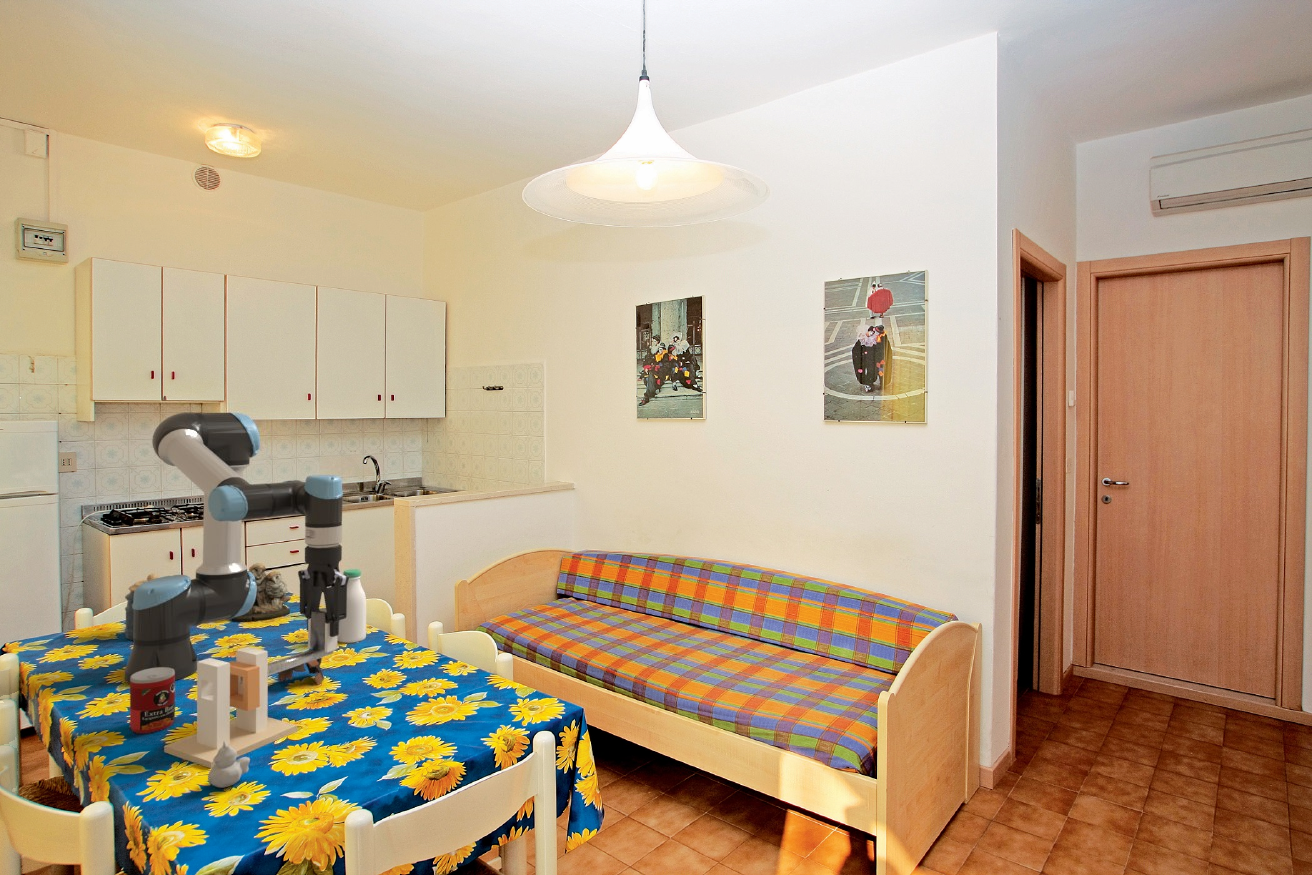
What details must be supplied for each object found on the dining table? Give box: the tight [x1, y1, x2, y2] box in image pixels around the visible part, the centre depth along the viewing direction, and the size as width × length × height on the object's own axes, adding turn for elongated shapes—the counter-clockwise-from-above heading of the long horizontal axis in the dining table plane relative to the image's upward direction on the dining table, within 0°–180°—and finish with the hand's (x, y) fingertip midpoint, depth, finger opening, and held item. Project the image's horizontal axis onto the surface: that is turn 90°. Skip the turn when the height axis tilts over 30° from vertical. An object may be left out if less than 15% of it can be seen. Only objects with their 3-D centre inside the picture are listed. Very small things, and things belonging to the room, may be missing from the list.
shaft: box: [241, 607, 335, 681], centre depth 157 cm, size 21×5×10 cm, turn 155°
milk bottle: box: [337, 568, 367, 644], centre depth 211 cm, size 8×8×20 cm
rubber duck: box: [207, 742, 251, 789], centre depth 129 cm, size 5×7×8 cm
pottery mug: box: [277, 651, 325, 686], centre depth 179 cm, size 12×10×8 cm
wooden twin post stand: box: [163, 646, 298, 770], centre depth 145 cm, size 14×18×17 cm
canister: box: [124, 573, 159, 641], centre depth 212 cm, size 13×13×18 cm
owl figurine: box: [230, 562, 292, 623], centre depth 233 cm, size 18×12×17 cm, turn 131°
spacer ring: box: [227, 660, 260, 711], centre depth 146 cm, size 8×2×8 cm, turn 65°
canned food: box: [129, 667, 176, 734], centre depth 152 cm, size 8×8×11 cm
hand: (322, 648), depth 164 cm, fingers closed on shaft, 5 cm apart
